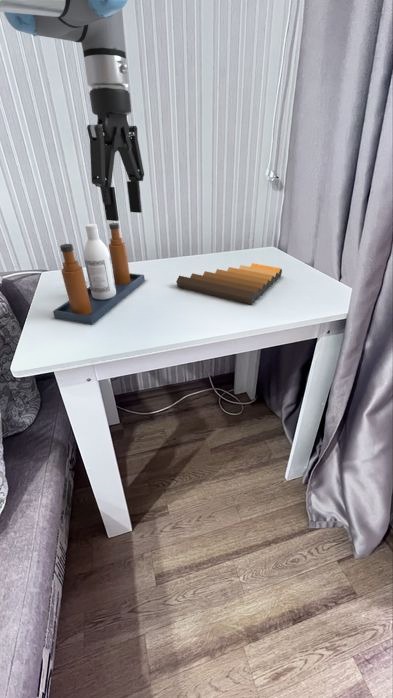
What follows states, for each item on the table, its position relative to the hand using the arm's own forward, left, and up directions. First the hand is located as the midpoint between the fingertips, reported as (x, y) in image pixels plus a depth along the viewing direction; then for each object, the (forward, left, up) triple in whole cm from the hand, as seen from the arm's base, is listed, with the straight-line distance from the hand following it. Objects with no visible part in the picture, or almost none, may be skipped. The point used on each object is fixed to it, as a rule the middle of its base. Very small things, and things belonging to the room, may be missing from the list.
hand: (124, 215), depth 73 cm
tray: (-5, +14, -25) cm, 29 cm away
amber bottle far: (+4, +21, -24) cm, 32 cm away
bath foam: (-4, +14, -24) cm, 28 cm away
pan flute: (+33, +3, -25) cm, 42 cm away
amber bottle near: (-13, +7, -24) cm, 28 cm away
